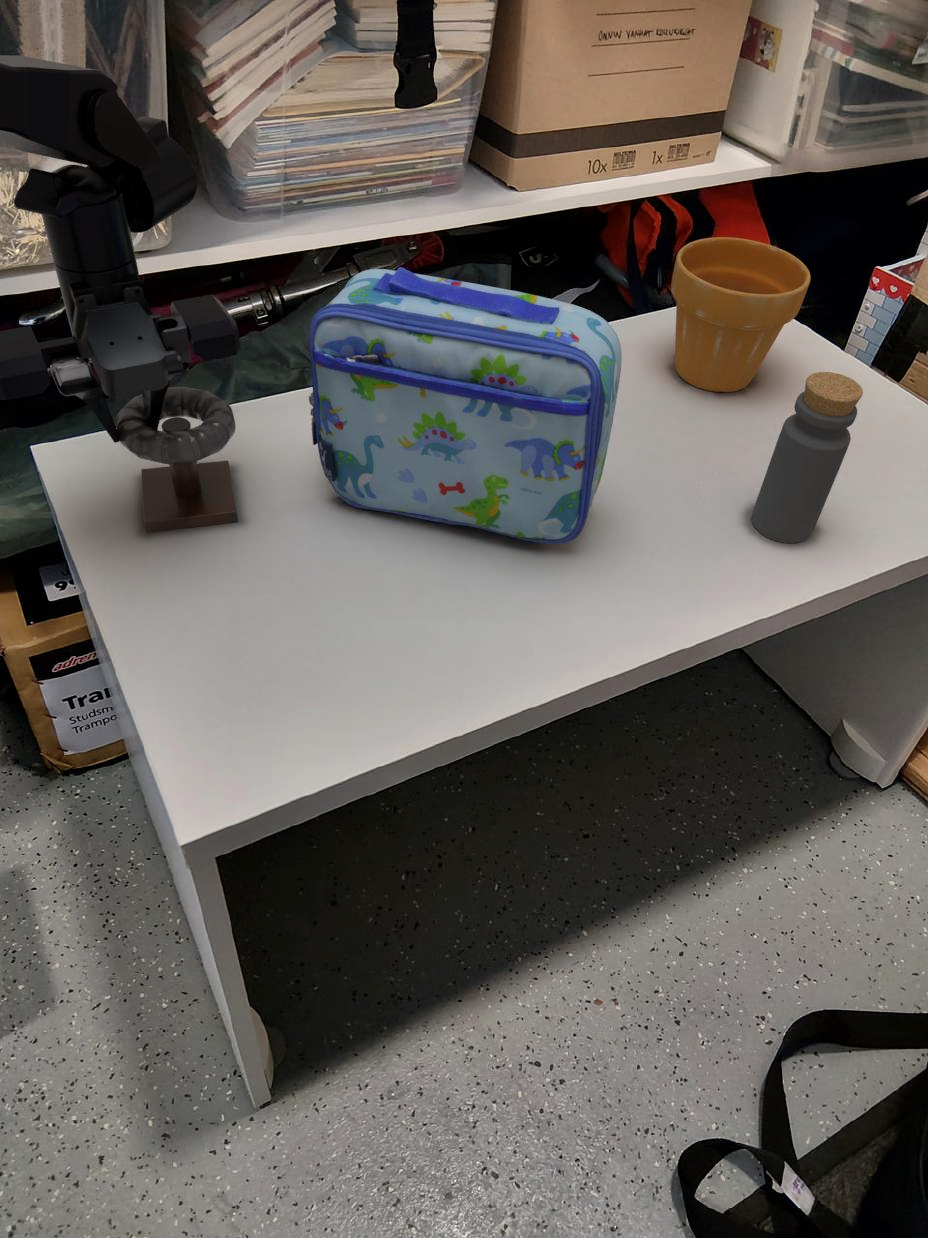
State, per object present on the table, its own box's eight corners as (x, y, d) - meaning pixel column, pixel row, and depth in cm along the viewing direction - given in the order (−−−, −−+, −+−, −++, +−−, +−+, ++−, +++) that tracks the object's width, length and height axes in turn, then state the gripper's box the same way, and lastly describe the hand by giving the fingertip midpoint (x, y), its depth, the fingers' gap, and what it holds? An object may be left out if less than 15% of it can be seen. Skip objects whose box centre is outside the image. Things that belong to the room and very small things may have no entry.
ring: (121, 474, 77) (115, 448, 75) (117, 412, 84) (112, 386, 82) (242, 463, 80) (239, 436, 78) (229, 402, 86) (226, 377, 84)
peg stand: (146, 532, 83) (128, 456, 77) (143, 479, 88) (126, 403, 82) (238, 521, 85) (227, 446, 79) (229, 470, 90) (219, 395, 84)
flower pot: (791, 367, 111) (828, 260, 102) (750, 420, 102) (786, 308, 93) (680, 331, 116) (706, 225, 106) (632, 378, 107) (656, 268, 98)
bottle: (785, 499, 92) (837, 362, 82) (825, 535, 89) (885, 396, 78) (738, 513, 90) (785, 374, 80) (777, 550, 86) (832, 410, 76)
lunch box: (303, 503, 87) (287, 288, 72) (348, 442, 94) (341, 236, 80) (575, 572, 83) (617, 358, 68) (600, 502, 90) (642, 295, 75)
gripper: (-25, 329, 60) (38, 519, 71) (254, 281, 67) (272, 461, 78) (-50, 258, 67) (11, 441, 78) (206, 221, 74) (229, 395, 85)
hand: (134, 435), depth 80 cm, fingers closed on ring, 3 cm apart
